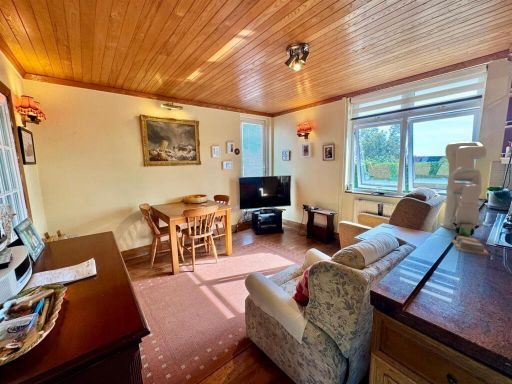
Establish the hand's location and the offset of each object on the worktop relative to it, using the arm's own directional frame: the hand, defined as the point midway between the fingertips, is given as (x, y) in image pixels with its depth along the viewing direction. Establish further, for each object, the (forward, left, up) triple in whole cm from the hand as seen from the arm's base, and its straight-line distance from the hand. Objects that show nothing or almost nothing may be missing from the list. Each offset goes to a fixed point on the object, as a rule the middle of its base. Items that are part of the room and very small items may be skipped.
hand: (464, 234), depth 135 cm
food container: (0, +1, -3) cm, 3 cm away
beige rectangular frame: (+17, -1, -3) cm, 17 cm away
